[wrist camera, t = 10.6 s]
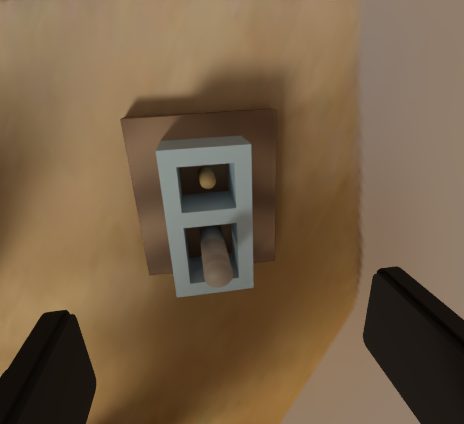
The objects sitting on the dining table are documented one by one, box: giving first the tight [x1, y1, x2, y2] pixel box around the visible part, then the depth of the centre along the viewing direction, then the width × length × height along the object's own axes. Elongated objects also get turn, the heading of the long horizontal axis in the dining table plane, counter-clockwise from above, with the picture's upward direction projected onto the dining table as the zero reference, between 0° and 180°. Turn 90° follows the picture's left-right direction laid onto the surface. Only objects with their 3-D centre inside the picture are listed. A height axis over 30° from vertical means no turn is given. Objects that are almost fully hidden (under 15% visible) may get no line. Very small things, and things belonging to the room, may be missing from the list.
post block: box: [120, 109, 277, 288], centre depth 23 cm, size 14×12×8 cm
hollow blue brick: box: [156, 135, 254, 298], centre depth 24 cm, size 12×6×4 cm, turn 2°
